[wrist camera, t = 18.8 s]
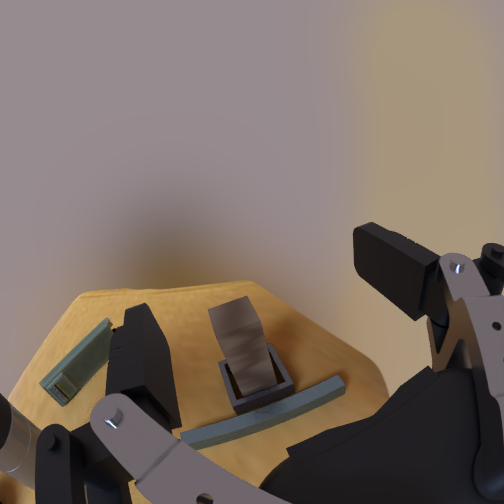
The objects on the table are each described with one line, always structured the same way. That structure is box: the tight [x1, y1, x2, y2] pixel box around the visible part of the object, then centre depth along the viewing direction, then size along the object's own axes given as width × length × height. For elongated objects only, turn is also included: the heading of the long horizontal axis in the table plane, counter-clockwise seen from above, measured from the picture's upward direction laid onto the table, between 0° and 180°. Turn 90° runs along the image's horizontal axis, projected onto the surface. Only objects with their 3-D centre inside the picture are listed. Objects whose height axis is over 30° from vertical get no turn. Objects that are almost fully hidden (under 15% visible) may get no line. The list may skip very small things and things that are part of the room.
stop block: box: [208, 296, 278, 398], centre depth 34 cm, size 5×5×14 cm
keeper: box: [180, 343, 345, 450], centre depth 35 cm, size 22×12×2 cm, turn 108°
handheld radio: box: [39, 318, 116, 407], centre depth 43 cm, size 7×3×25 cm
